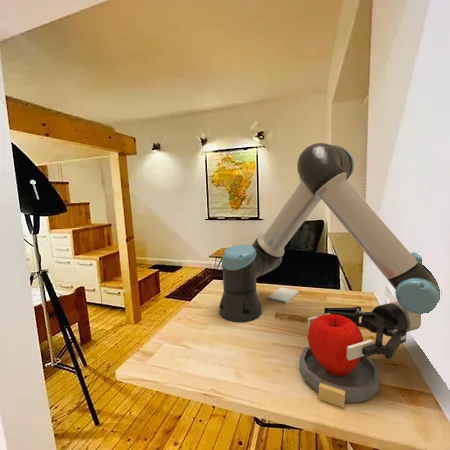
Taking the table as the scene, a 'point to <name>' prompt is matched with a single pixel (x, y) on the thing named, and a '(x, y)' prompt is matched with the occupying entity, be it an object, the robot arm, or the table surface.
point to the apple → (334, 342)
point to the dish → (341, 380)
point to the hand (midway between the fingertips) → (326, 337)
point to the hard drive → (283, 295)
